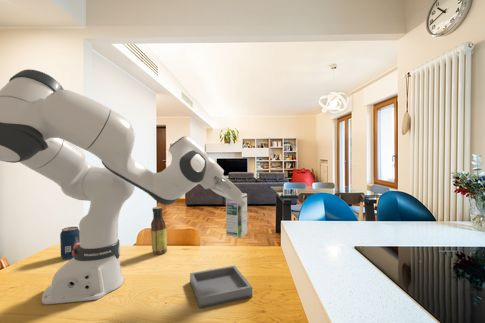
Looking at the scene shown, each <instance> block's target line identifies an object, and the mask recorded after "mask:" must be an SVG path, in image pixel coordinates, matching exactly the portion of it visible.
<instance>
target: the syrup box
mask: <svg viewBox="0 0 485 323" xmlns="http://www.w3.org/2000/svg"><path fill="white" fill-rule="evenodd" d="M242 194H243V195H242V196H241V198H242V200H243V201H244V202H245V205H244V207H241V206H239V205H238V204H237V202H234V201H232V200H230V199H228V198H225V211H226V212H225V215H226V216H225V217H226V218H225V220H226V223H225V224H226V227H225V229H226V234H225V236H226V237H233V238H239V239H240V238H243V237H244V236H245V235H247V234H248V194H247V193H243V192H242Z"/></svg>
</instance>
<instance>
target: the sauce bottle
mask: <svg viewBox="0 0 485 323" xmlns="http://www.w3.org/2000/svg"><path fill="white" fill-rule="evenodd" d="M152 215H153V216H152V218H153V219H152V221H151V222H150V223H151V224H150V228H151V230H150V232H151V235H150V236H151V251H152V254H154V255H162V254H165V253H166V252H167V250H168V243H167V242H168V240H167V239H168V238H167V225H166V222H165V221H164V218H163V207H162V206H155V207H152Z"/></svg>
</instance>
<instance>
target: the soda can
mask: <svg viewBox="0 0 485 323" xmlns="http://www.w3.org/2000/svg"><path fill="white" fill-rule="evenodd" d="M59 240H60V256H61V258H62V259H63V260H71V259H72V258H73V256H72V250H73V247H74V245H75V244H76V243H80V236H79V227H78V226H69V227H65V228H62V229H61V232H60V234H59Z"/></svg>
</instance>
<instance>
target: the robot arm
mask: <svg viewBox="0 0 485 323" xmlns="http://www.w3.org/2000/svg"><path fill="white" fill-rule="evenodd" d="M134 143H135V132H134V128H133V126H132V124H131V122H130V121H129V120H128V119H127V118H125V117H124V116H123V115H121V114H120V113H119V112H116V111H115V110H112V109H111V108H109V107H107V106H105V104H102V103H101V102H98V101H96V100H94V99H91V98H89V97H87V96H84V95H83V94H80V93H77V92H74V91H71V90H68V89H64V88H63V86H62V85H61V83H60V82H58V81H57V80H56V78H54V77H52V76H51V75H49V74H47V73H45V72H42V71H41V70H40V71H39V70H36V69H32V68H31V69H28V68H27V69H23V70H20V71H18V72H17V73H16V74H14V75H13V76H11V77H10V78H9V80H8V82H7V83H6V84H5V85H4V86H3V87H2V88H0V161H1V162H5V163H11V164H13V163H20V164H22V165H24V166H25V167H27V168H29V169H30V170H33V171H35V172H36V173H37V174H40V175H42V176H44V177H45V178H47V179H49V180H51V181H53V182H54V183H56V185H58V186H59V187H60V189H61V191H62V192H63V194H64V195H65V196H67V197H70V198H72V199H75V200H78V201H84V202H85V201H88V202H90V204H89V208H88V212H87V214H86V215H85V216H83V217H82V218H81V219H80V221H79V223H78V226H79V227H78V229H79V236H80V243H76V244H75V245H74V247H73V250H72V256H73V258H72V259H68V260H67V262H66V263H64V264H63V265H61V267H60V268H58V269H57V271H56V272H55V273H54V274H53V278H52V279H51V283H50V284H49V286H47V287H46V289H45V290H44V291H43V293H42V295H41V303H42V304H43V305H54V304H65V303H75V302H86V301H95V300H96V301H97V300H99V299H100V298H103V297H104V296H105V295H106V294H108V293H111V292H113V291H114V290H116V289H118V288H120V287H121V285H123V283H124V282H125V277H124V274H123V272H122V268H121V263H120V256H121V243H120V239H119V216H120V213H121V210H122V209H121V208H122V207H123V205H124V204H125V203H126V201H128V199H130V198H131V196H132V195H133V194H134V192H135V188H138V189H140V190H141V191H143V192H144V193H146V194H148V196H150V197H151V198H152V199H153V200H155V201H156V202H158V203H160V204H161V205H162V204H163V205H167V206H168V205H169V206H170V205H173V204H175V203H176V202H177V201H179V199H180V198H182V197H183V196H184V195H185V194H186V193H188V192H190V191H191V190H192V189H193V188H195V187H196V186H197V185H200V186H202V187H203V189H205V190H209V189H210V190H211V191H212V192H214V193H215V194H216V195H219V196H221V197H224V198H225V199H226V198H228V199H230V200H232V201H234V202H237V204H238V205H239V206H241V207H244V205H245V202H244V201H243V200H242V198H241V196H242V195H243V194H244V193H243V192H242V191H241V190H240V188H238V187H237V186H236V185H235V184H234V183H233V182H232V181H231V180H230V179H228V178H226V177H225V175H224V172H225V170H224V169H223V168H222V167H221V166H220V165H219V163H217V162H216V161H215V160H214V159H213V158H211V157H210V156H209V155H208V154H207V153H208V152H206V150H205V149H204V148H203V147H202V146H201V145H199V144H198V143H197V142H196V141H195V140H194V139H192V138H191V137H190V136H187V135H186V136H185V135H184V136H181V137H180V138H179V139H177V140H176V141H175V142H173V143H172V144H171V145H170V146H169V148H168V152H169V153H170V155H171V161H170V165H168V166H167V167H166V168H164V169H163V170H162V171H159V172H152V171H150V169H148V168H146V167H145V166H143V165H141V164H140V163H139V162H137V161H136V160H134V159H133V158H132V151H133V148H134V146H135V145H134ZM81 149H83V150H84V151H87V152H89V153H90V154H93V155H94V156H96V158H98V159H99V160H100V161H101V164H102V165H103V166H104V167H99V166H94V165H91V164H89V163H88V162H86V156H85V153H84V152H83V150H81ZM242 193H243V194H242Z"/></svg>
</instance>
